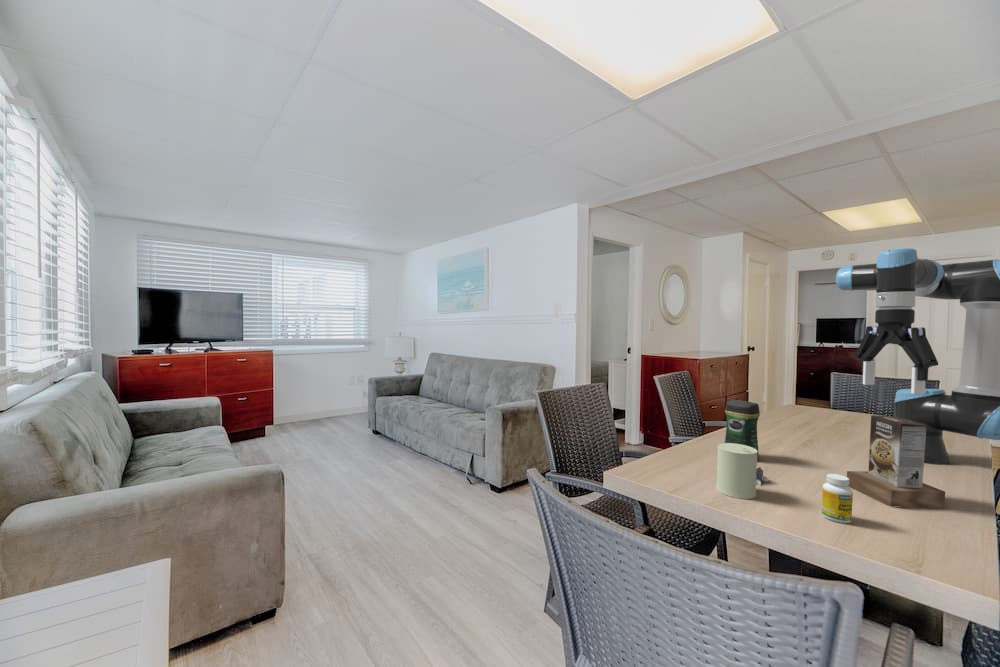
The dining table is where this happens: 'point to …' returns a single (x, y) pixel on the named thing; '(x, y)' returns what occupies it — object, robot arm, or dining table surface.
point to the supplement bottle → (837, 499)
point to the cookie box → (897, 451)
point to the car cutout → (760, 476)
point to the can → (736, 470)
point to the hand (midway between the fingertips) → (891, 388)
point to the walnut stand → (896, 492)
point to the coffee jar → (742, 423)
